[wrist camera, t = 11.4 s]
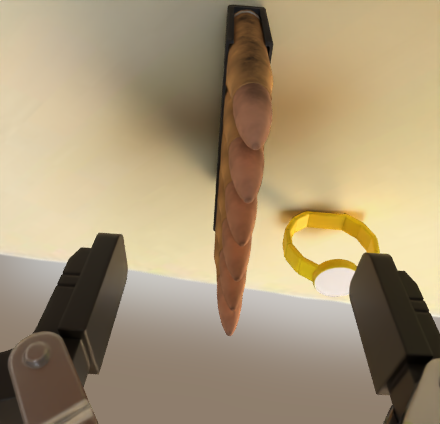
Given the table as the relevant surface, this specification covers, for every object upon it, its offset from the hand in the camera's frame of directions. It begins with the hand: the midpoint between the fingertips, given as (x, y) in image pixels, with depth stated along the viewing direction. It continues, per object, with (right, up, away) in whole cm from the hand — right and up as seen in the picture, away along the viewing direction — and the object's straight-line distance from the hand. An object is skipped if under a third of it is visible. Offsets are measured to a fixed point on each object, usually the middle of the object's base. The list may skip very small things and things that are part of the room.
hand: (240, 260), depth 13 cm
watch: (+7, +1, +14) cm, 16 cm away
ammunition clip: (0, +8, +9) cm, 12 cm away
